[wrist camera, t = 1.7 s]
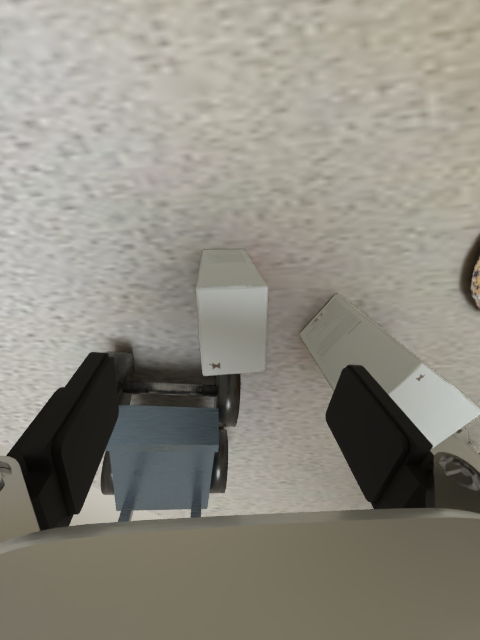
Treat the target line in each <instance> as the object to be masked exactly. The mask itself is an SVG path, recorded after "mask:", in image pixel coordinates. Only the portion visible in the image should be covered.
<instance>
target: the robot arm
mask: <svg viewBox="0 0 480 640" xmlns="http://www.w3.org/2000/svg"><path fill="white" fill-rule="evenodd" d="M118 415H119V405H118V394H117V384H116V373H115V363H114V358H113V357H109V354H108V353H98V352H91V353H90V354H89V355H88V356H87V357H86V359H85V360H84V362H83V363H82V364H81V366H80V367H79V368H78V370H77V371H76V372H75V374H74V375H73V376H72V378H71V379H70V381H69V382H68V383H67V385H66V386H65V387H61V388H59V389H58V390H57V391H56V392H55V393H54V394H53V395H52V397H51V398H50V399H49V401H48V402H47V403H46V404H45V406H44V407H43V408H42V410H41V411H40V412H39V414H38V415H37V416H36V418H35V419H34V420H33V421H32V423H31V424H30V425H29V427H28V428H27V429H26V431H25V432H24V433H23V435H22V436H21V437H20V438H19V440H18V441H17V442H16V444H15V445H14V446H13V448H12V449H11V450H10V452H9V453H8V454H7V456H0V640H480V453H477V452H476V451H475V450H474V449H473V448H472V447H471V446H470V445H469V444H468V443H469V435H468V432H467V431H466V430H465V428H463V427H462V428H461V429H459V430H458V431H456V432H455V433H453V434H452V435H451V436H449V437H448V438H446V439H445V440H444V441H442V442H441V443H439V444H438V445H436V446H435V447H433V445H432V444H431V443H430V441H429V440H428V439H427V438H426V437H425V436H424V435H423V433H422V432H421V431H420V430H419V429H418V428H417V427H416V426H415V424H414V423H413V422H412V421H411V420H410V419H409V418H408V416H407V415H406V414H405V413H404V412H403V411H402V410H401V408H400V407H399V406H398V405H397V404H396V403H395V402H394V400H393V399H392V398H391V397H390V396H389V395H388V394H387V393H386V391H385V390H384V389H383V388H382V387H381V386H380V385H379V383H378V382H377V381H376V380H375V379H374V378H373V377H372V375H371V374H370V373H369V372H368V371H367V370H366V369H365V368H364V367H363V366H362V365H347V366H346V368H343V369H342V371H341V374H340V377H339V379H338V382H337V385H336V387H335V390H334V393H333V395H332V398H331V401H330V403H329V406H328V409H327V411H326V421H327V424H328V426H329V428H330V430H331V431H332V433H333V435H334V437H335V439H336V441H337V443H338V445H339V447H340V449H341V451H342V453H343V455H344V457H345V459H346V461H347V463H348V465H349V467H350V469H351V471H352V473H353V475H354V477H355V479H356V481H357V483H358V485H359V486H360V488H361V490H362V492H363V494H364V496H365V498H366V499H367V501H369V502H371V504H372V506H373V508H374V509H370V510H345V511H320V512H298V513H276V514H255V515H234V516H215V517H196V518H177V519H158V520H141V521H126V522H113V523H98V524H86V525H77V526H69V524H70V522H71V519H72V517H73V515H74V514H79V513H80V511H81V509H82V507H83V504H84V502H85V499H86V497H87V494H88V492H89V489H90V487H91V484H92V482H93V479H94V477H95V474H96V472H97V469H98V467H99V464H100V462H101V459H102V457H103V454H104V452H105V449H106V447H107V444H108V442H109V439H110V437H111V434H112V432H113V429H114V427H115V424H116V422H117V419H118ZM432 447H433V448H432Z"/></svg>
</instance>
